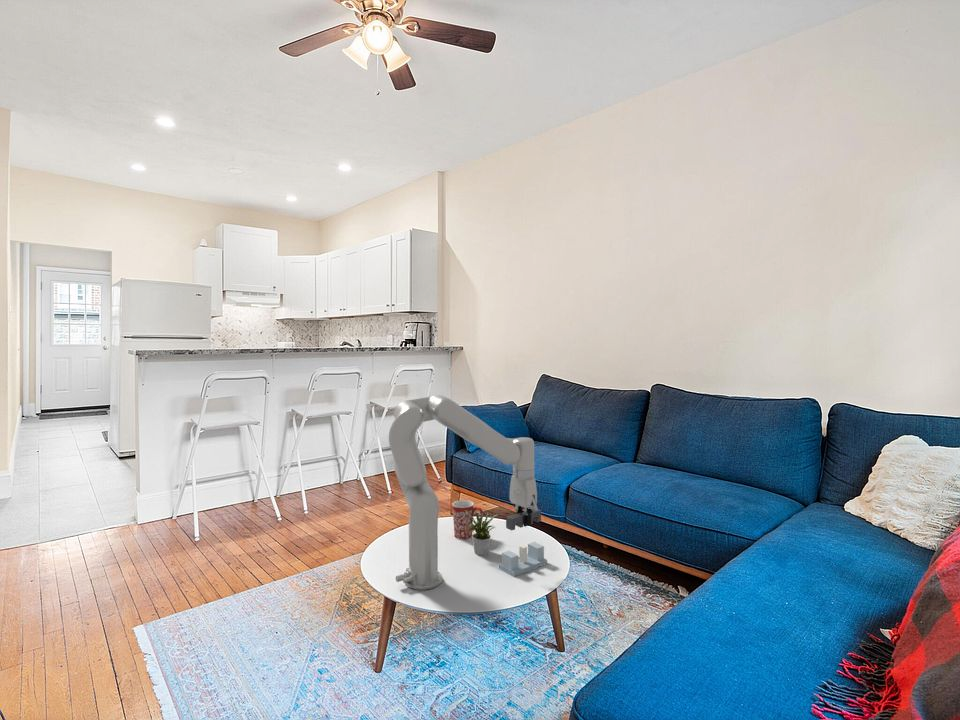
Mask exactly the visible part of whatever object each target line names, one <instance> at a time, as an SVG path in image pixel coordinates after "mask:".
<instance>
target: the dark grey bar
mask: <svg viewBox="0 0 960 720" xmlns="http://www.w3.org/2000/svg"><path fill="white" fill-rule="evenodd" d="M524 515H525V512H521V513H517V514H516V513H515V514H510V515H506V517H505V528H506V529H508V530H510V531H514V530H516V527H518V528H523V527H524V525H523V521H524ZM533 521H534V522H536V523H540V522H542V510H541V509H539V508H538V510H536V511H534V512H533V514H531V525H533V524H534V523H533Z"/></svg>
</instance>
